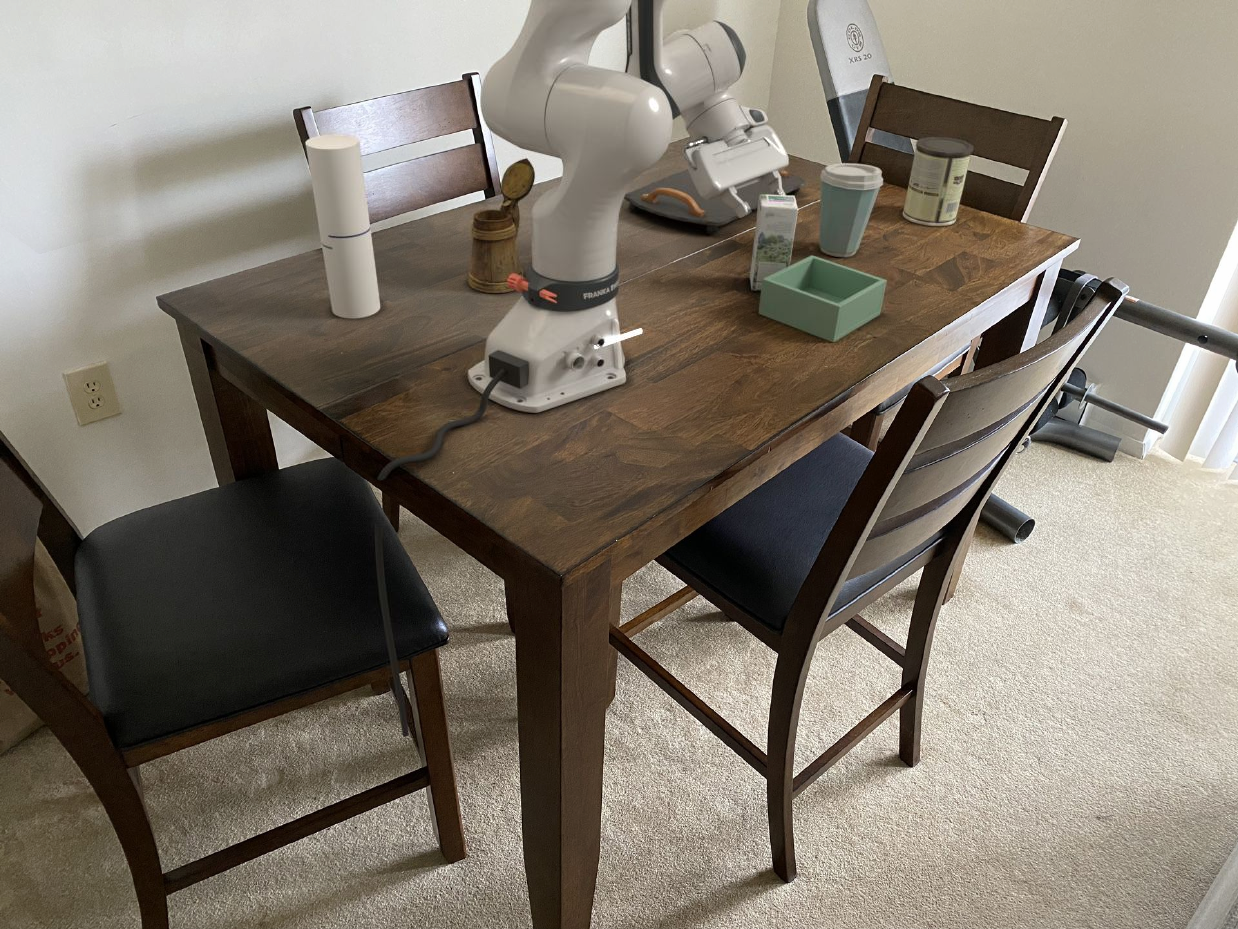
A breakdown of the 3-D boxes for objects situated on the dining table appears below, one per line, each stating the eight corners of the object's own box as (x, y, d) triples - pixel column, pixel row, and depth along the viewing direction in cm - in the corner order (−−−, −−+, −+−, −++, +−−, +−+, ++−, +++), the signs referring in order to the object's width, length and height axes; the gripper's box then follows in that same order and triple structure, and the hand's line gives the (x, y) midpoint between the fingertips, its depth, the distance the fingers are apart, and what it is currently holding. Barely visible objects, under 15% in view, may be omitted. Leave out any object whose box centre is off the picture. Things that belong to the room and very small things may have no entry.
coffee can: (911, 204, 189) (926, 133, 181) (962, 215, 184) (980, 142, 176) (894, 219, 182) (909, 145, 174) (947, 230, 177) (964, 155, 169)
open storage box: (833, 342, 138) (839, 306, 134) (758, 313, 145) (762, 278, 142) (880, 314, 146) (887, 280, 143) (806, 288, 153) (811, 255, 150)
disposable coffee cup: (796, 248, 168) (808, 164, 159) (834, 235, 174) (847, 153, 165) (843, 267, 161) (859, 180, 153) (881, 252, 167) (898, 168, 159)
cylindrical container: (368, 320, 139) (345, 151, 125) (323, 315, 140) (296, 146, 126) (387, 301, 145) (367, 136, 131) (344, 295, 146) (320, 132, 132)
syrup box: (783, 279, 156) (795, 193, 148) (786, 294, 151) (798, 206, 143) (749, 277, 157) (759, 191, 148) (751, 292, 152) (761, 204, 143)
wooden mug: (551, 271, 156) (550, 163, 146) (499, 298, 147) (494, 185, 137) (510, 258, 160) (506, 152, 150) (457, 284, 151) (448, 173, 141)
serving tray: (711, 243, 168) (714, 210, 165) (610, 213, 180) (611, 181, 176) (813, 191, 194) (818, 161, 190) (720, 167, 205) (722, 138, 202)
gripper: (690, 132, 139) (737, 213, 139) (770, 109, 152) (812, 183, 152) (666, 156, 144) (711, 234, 144) (745, 131, 157) (786, 203, 157)
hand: (763, 208), depth 148 cm, fingers open, 8 cm apart
